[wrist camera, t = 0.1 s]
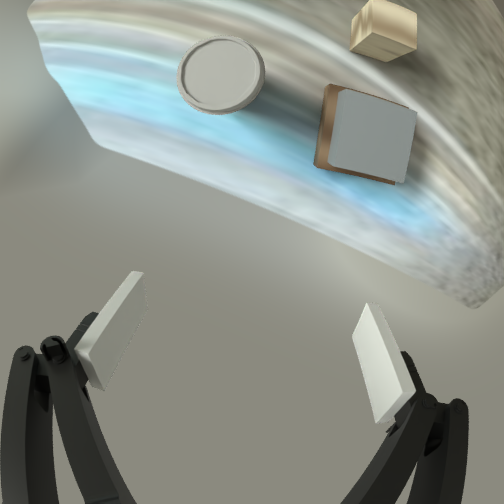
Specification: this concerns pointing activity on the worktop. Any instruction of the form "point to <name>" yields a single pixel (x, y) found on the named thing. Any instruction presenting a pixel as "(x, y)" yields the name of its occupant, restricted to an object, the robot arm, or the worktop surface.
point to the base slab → (327, 130)
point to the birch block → (384, 31)
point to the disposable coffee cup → (220, 75)
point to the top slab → (371, 136)
